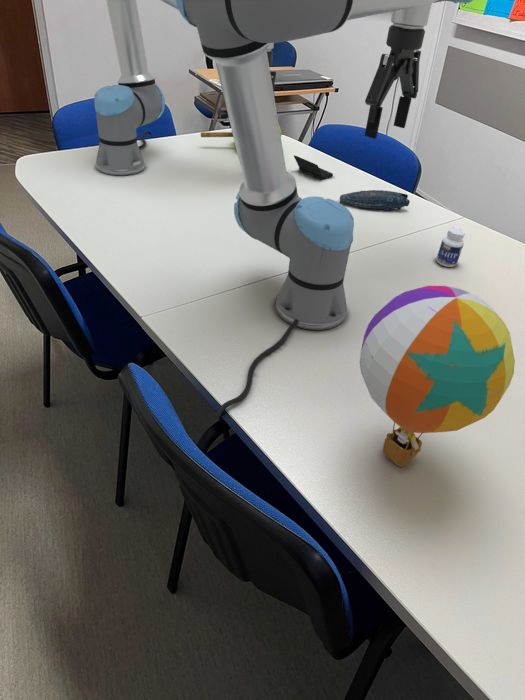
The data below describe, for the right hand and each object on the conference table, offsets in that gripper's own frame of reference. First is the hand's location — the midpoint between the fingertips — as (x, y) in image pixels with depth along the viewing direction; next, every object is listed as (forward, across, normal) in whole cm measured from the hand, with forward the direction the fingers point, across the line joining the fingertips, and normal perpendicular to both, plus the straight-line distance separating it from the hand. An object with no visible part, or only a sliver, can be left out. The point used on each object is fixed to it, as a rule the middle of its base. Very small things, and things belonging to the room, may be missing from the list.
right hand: (385, 131), depth 122 cm
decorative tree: (+29, -32, -72) cm, 84 cm away
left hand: (+14, -11, -48) cm, 51 cm away
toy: (+29, +60, +43) cm, 79 cm away
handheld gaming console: (+29, -32, -39) cm, 58 cm away
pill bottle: (+29, -8, +21) cm, 37 cm away
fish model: (+29, -24, -11) cm, 39 cm away
